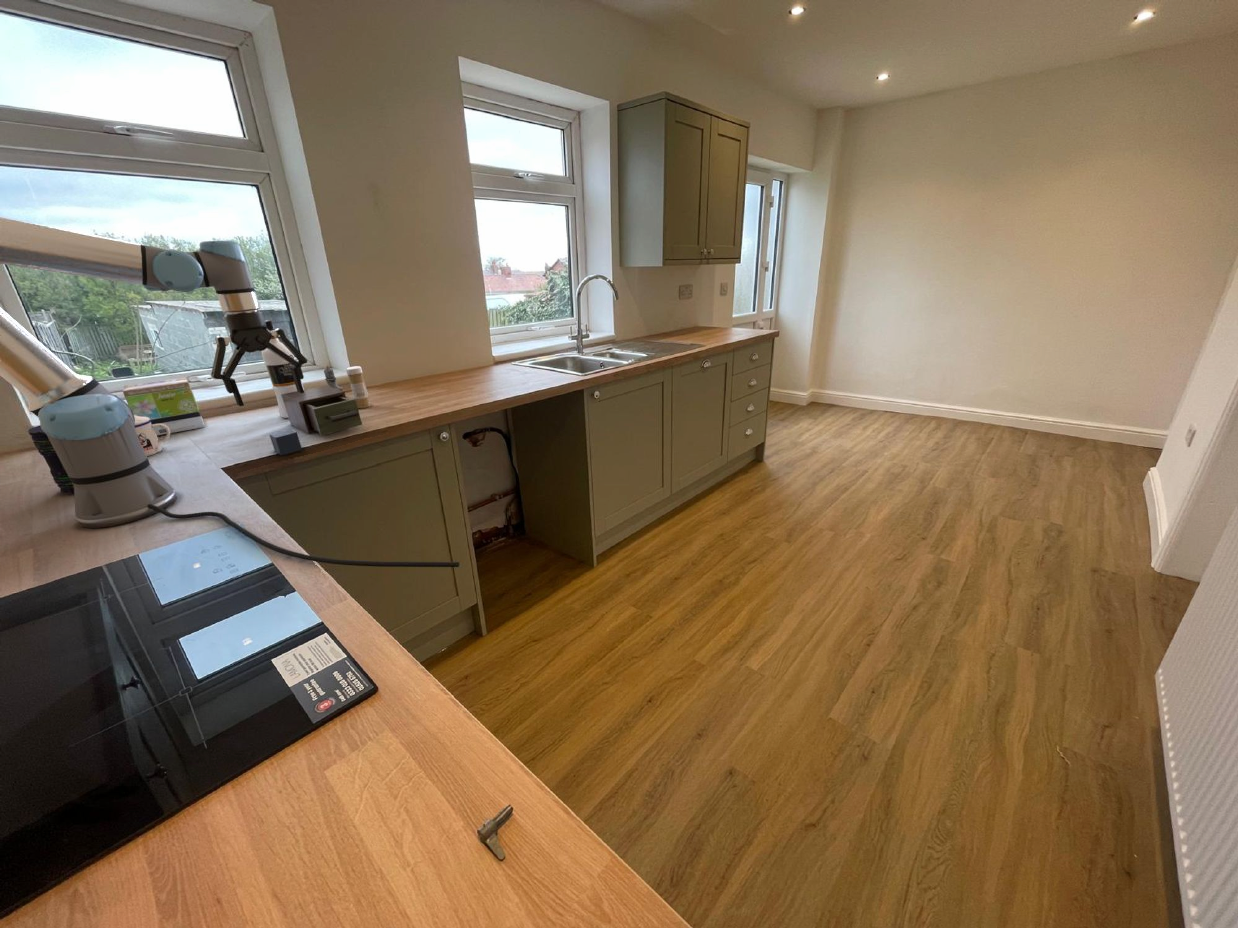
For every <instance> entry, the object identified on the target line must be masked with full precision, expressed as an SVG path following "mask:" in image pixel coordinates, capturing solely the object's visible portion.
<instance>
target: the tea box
mask: <svg viewBox="0 0 1238 928" xmlns="http://www.w3.org/2000/svg"><path fill="white" fill-rule="evenodd" d="M122 393H123V396H124V398H125V402H126V403H127V404H128V405H129V407H130V408H131V410H132V411H133V414H134V415H136V416H140V417H148V418H150V419H151V424H152V425H153V424H164V425H166V426H168V428H169V429H170V434H173V433H174V434H175V433H177V432H185V431H189V430H190V431H191V430H196V429H203V428H205V423H204V420H203V417H202V414H201V411H200V408H199V405H198V402H197V401H196V398H195V395H194V392H193V390H192V388H191V385H190V383H189V380H188V378H187V377H186V376H185V377H177V378H171V379H163V380H162V379H161V380H154V381H149V382H141V383H135V384H134V383H133V384H127V385H126V384H125V385H123V390H122ZM153 429H154V431H155V433H156V435H157V436H163V435H167V431H166V429H165V428H163V427H153Z"/></svg>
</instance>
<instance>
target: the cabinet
mask: <svg viewBox="0 0 1238 928" xmlns="http://www.w3.org/2000/svg"><path fill="white" fill-rule="evenodd" d="M281 396H282V399H283V402H284V405H285V408H286V411H287V414H288V417H289V418H288V420H289V423H290V425H291V426H293V427H295V428H296V429H299V430H300V431H302V432H304V433H307V434H308V435H309V434H312V433H317V432H318V431H317V430H314V429H312V428H310V426H309V423H308V420H307V417H306V413H305V410H304V407H303V404H304V403H309V402H313V401H318V400H322V399H326V398H331V397H335V396H342V397H344V398H347V396H346V393H345V391H344V390H342V391H341V390H338V389H335V388H332V387H329V386H327V384H326V385H325V384H324V385H319V386H316V387H311V388H304V393H299V392H297V391H296V392H291V393H286V394H281Z"/></svg>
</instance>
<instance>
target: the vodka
mask: <svg viewBox="0 0 1238 928" xmlns="http://www.w3.org/2000/svg"><path fill="white" fill-rule="evenodd" d="M265 323H266V326H267V329H268V330H269V331H273V330H275V329H276V328H275V325H274V321H273V320H270V319H268V320H265ZM270 343H271V344H273V345H274V346H276V347H277V348H278V349H280V350H281V351H283V352H284V353H286V354H287V355H289V356H290V357H291V358H293V359H294V360H296V357H295V356H294V355H293V354H292V353H291V352H290V351H289V350H288V349H287V348H286V347H285V346H284V344H283V343H282V342H281V341H280V340H279V339H278V338H275V337H274V336H272V337H271V339H270ZM261 357H262V359H263V363H264V365H265V367H266V370H267V374H268V375H269V378H270V381H271V385H272V387H271V388H272V389H273V393H274V395H275V398H276V401H277V408H278V410H277V411H278V414H279V416H280V417H281V418H284V419H289V417H288V414H287V411H286V408H285V405H284V402H283V399H282V396H281V394H286V393H291V392H296V391H297V389H296V385H295V382H294V379H293V376H292V373H291V370H290V367H293V365H291V364H290V363H288V362H287V361H285V360H284V359H282V358H281V357H279V356H278V355H276V354H275V353H273V352H272V351H270V350H269V349H267V348H266V349H265V350H264V351H261ZM300 380H301V383H302V387H303V390H305V388H304V385H303V384H304V382H303V381H302V379H300Z"/></svg>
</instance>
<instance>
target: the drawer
mask: <svg viewBox="0 0 1238 928" xmlns="http://www.w3.org/2000/svg"><path fill="white" fill-rule="evenodd" d="M303 407H304V410H305V413H306V417H307V420H308V423H309V426H310V428H312V429H314V430H317V432H318V434H319V436H322V437H323V436H326V435H329V434H333V433H337V432H341V431H344V430H348V429H352V428H355V427H359V426H362V425H363V423H362V418H361V415H360V411H359V408H358V407H357V403H356V399H354V398H347V397H346V398H344V397H342V396H335V397H331V398H326V399H322V400H318V401H313V402H309V403H304V404H303Z"/></svg>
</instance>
